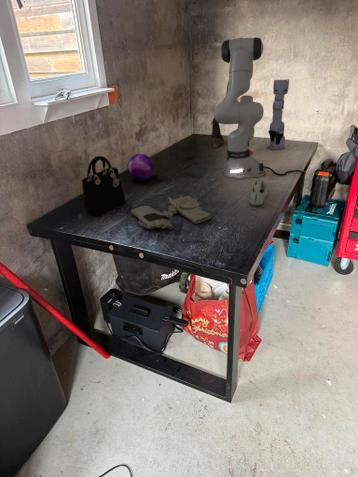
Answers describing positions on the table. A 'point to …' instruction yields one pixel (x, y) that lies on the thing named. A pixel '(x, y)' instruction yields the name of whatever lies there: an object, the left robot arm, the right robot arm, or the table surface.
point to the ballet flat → (258, 193)
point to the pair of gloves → (170, 213)
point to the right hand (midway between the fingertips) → (274, 142)
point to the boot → (216, 134)
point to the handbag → (102, 188)
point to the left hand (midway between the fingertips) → (244, 142)
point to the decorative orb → (140, 167)
